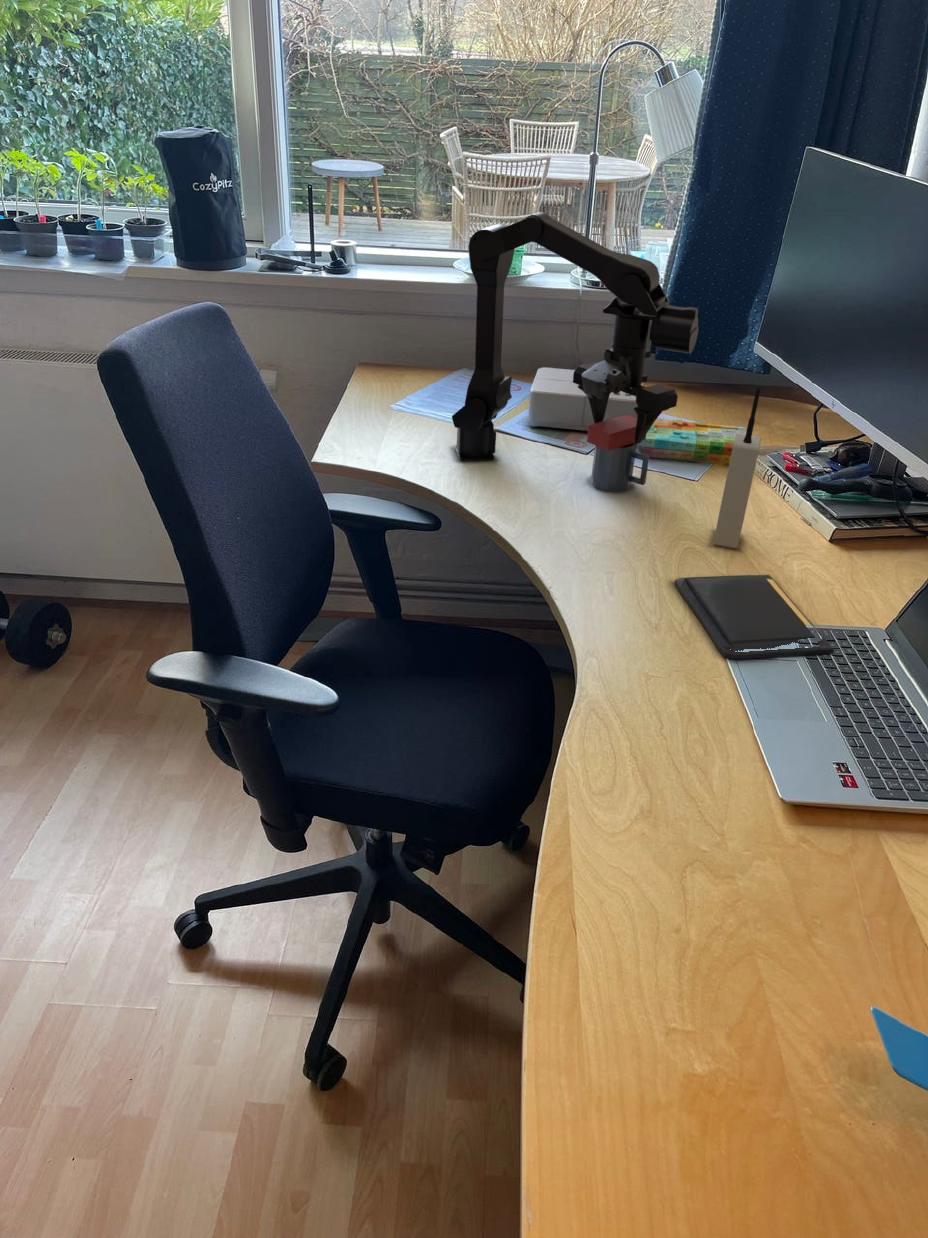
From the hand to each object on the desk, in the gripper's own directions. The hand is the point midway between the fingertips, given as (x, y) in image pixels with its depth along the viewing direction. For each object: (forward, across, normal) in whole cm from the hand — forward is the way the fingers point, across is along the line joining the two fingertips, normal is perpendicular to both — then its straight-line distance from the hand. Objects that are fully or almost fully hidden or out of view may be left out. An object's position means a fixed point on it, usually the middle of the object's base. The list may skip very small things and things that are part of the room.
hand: (617, 435), depth 158 cm
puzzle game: (+9, -1, +24) cm, 26 cm away
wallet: (+9, +42, -17) cm, 46 cm away
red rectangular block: (+1, 0, 0) cm, 1 cm away
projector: (+9, -26, +20) cm, 34 cm away
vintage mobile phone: (+9, +26, -1) cm, 28 cm away
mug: (+9, +1, 0) cm, 9 cm away
